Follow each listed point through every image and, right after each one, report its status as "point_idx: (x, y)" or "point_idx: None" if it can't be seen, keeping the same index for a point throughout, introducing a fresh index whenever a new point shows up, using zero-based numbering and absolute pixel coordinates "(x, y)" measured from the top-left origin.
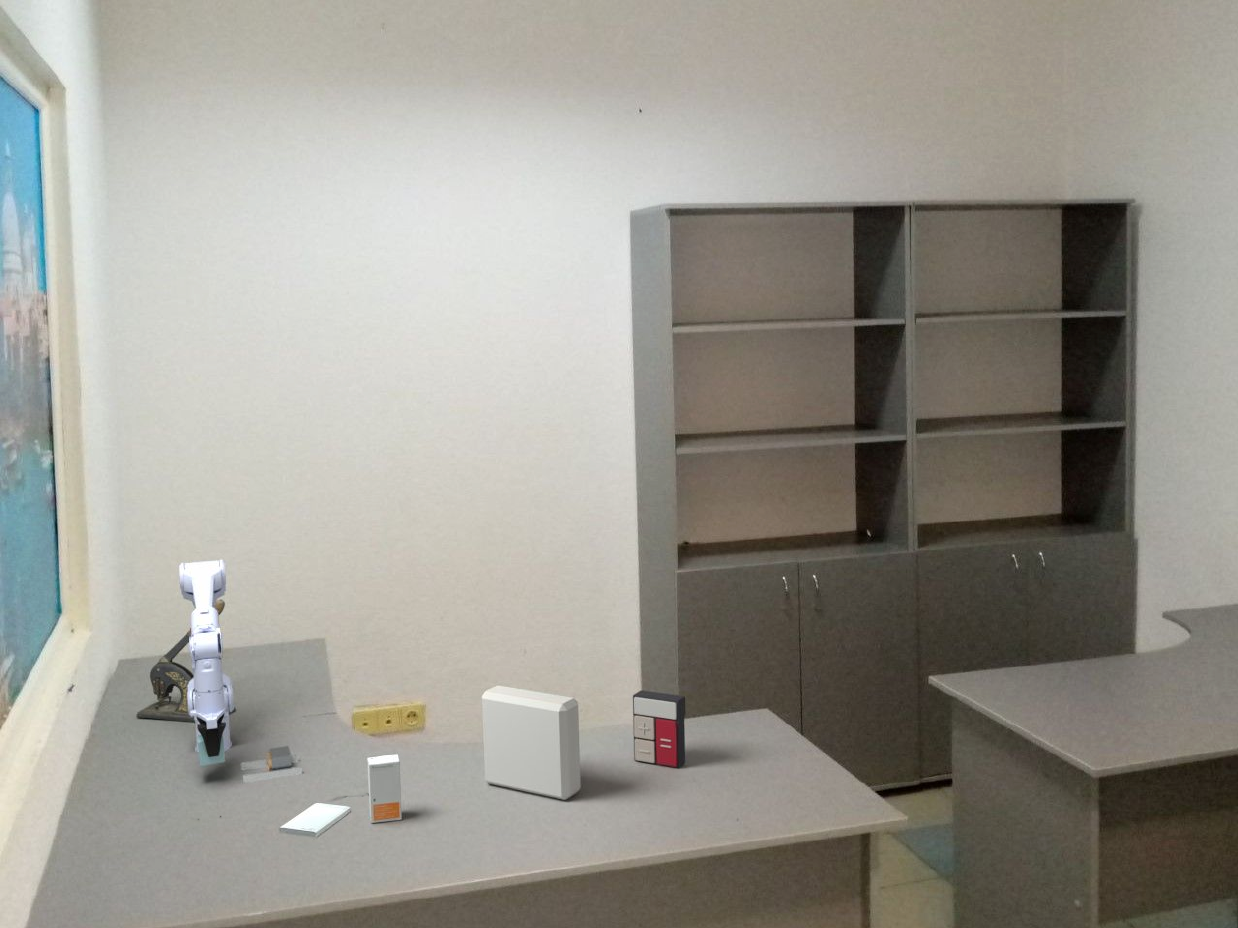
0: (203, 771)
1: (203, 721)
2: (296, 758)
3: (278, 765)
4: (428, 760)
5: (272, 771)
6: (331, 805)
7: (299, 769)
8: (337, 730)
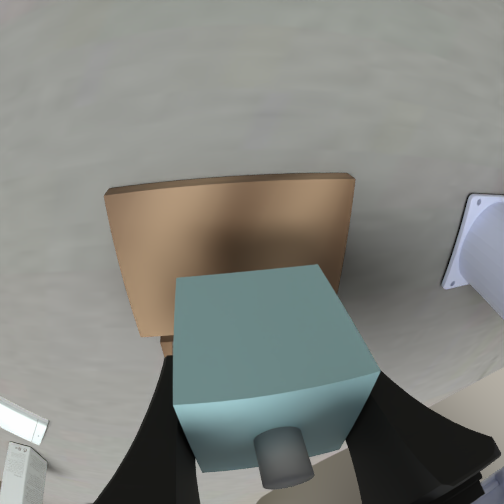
0: (391, 211)
1: (408, 476)
2: None
3: None
4: (218, 489)
5: None
6: (39, 436)
7: None
8: None
